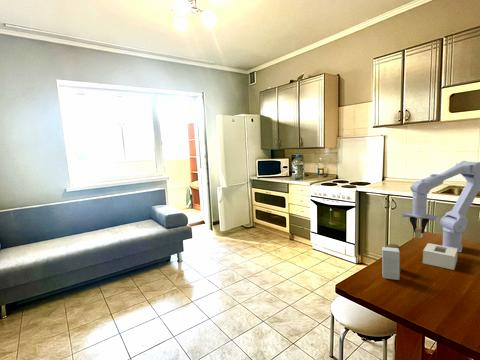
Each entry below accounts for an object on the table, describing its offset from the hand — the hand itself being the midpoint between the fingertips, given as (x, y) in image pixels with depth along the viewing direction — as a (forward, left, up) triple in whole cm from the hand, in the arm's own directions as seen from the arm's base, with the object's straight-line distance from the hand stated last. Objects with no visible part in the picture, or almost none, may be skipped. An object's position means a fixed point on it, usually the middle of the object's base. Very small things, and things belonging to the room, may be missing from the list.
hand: (419, 232), depth 132 cm
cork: (+29, -4, -9) cm, 31 cm away
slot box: (+10, +10, -9) cm, 17 cm away
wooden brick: (0, 0, -2) cm, 2 cm away
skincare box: (+37, -3, -9) cm, 38 cm away
